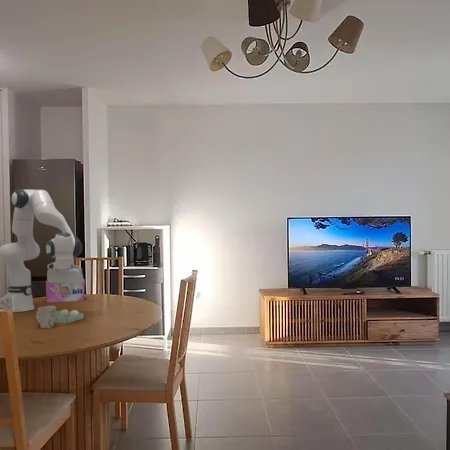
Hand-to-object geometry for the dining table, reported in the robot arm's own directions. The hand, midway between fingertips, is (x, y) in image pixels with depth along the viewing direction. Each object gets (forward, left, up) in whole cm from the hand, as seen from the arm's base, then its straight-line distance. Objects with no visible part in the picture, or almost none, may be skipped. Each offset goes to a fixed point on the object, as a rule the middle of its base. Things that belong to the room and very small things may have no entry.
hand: (65, 292), depth 266 cm
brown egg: (0, 0, -2) cm, 2 cm away
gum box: (-44, +52, -16) cm, 70 cm away
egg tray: (-6, +3, -15) cm, 17 cm away
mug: (-3, -12, -16) cm, 20 cm away
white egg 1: (-6, +6, -15) cm, 17 cm away
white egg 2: (0, +6, -15) cm, 16 cm away
